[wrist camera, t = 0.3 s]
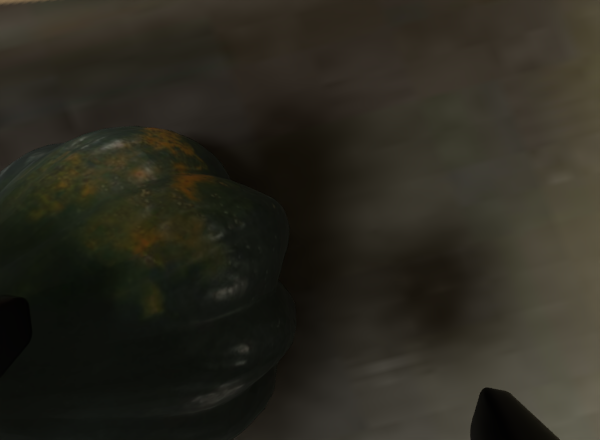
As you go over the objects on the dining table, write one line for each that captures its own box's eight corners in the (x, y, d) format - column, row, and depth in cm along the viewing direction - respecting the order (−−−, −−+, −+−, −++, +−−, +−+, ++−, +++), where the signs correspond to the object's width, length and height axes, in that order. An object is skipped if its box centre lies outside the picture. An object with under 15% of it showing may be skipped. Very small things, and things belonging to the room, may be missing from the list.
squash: (420, 309, 17) (-3, 150, 7) (221, 551, 20) (-291, 689, 10) (268, 163, 27) (4, 11, 17) (150, 337, 30) (-139, 295, 20)
